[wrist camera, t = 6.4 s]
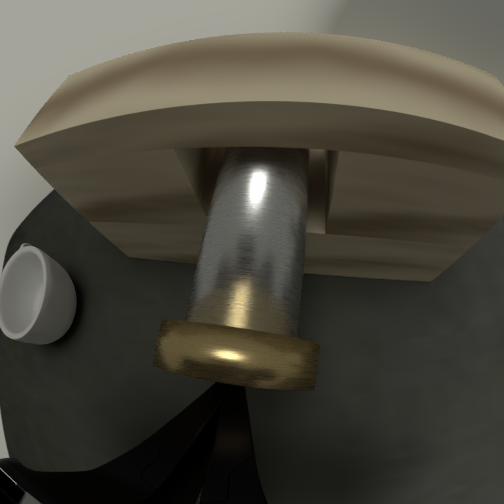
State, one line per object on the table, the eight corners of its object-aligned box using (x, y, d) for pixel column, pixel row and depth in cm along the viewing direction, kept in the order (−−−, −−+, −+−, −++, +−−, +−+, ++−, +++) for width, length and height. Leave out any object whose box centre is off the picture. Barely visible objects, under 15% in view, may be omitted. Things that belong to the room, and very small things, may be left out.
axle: (309, 386, 11) (324, 394, 6) (185, 368, 12) (120, 358, 7) (320, 110, 18) (322, 42, 13) (243, 108, 19) (230, 43, 14)
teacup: (99, 327, 20) (55, 310, 15) (45, 364, 19) (1, 354, 14) (73, 238, 24) (40, 211, 19) (27, 278, 23) (-8, 257, 18)
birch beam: (430, 281, 18) (549, 160, 6) (128, 257, 22) (14, 146, 10) (422, 213, 21) (494, 75, 8) (148, 197, 25) (69, 76, 12)
